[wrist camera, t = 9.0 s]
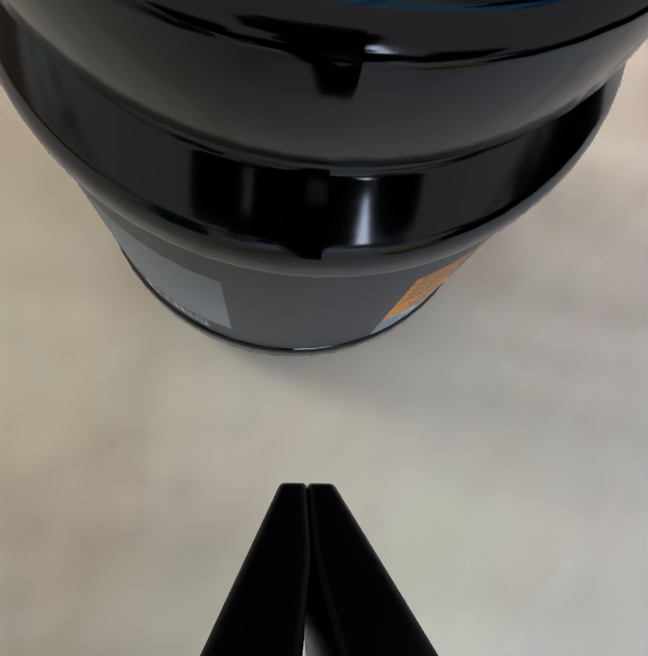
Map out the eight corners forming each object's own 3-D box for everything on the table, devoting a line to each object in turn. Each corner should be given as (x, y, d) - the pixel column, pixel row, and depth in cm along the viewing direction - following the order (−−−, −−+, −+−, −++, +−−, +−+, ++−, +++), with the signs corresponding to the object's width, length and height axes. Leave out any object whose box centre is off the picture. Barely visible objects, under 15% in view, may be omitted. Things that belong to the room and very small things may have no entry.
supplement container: (516, 192, 18) (1000, -308, 6) (311, 441, 15) (471, 395, 3) (276, -1, 18) (299, -780, 7) (40, 205, 16) (-576, -484, 4)
